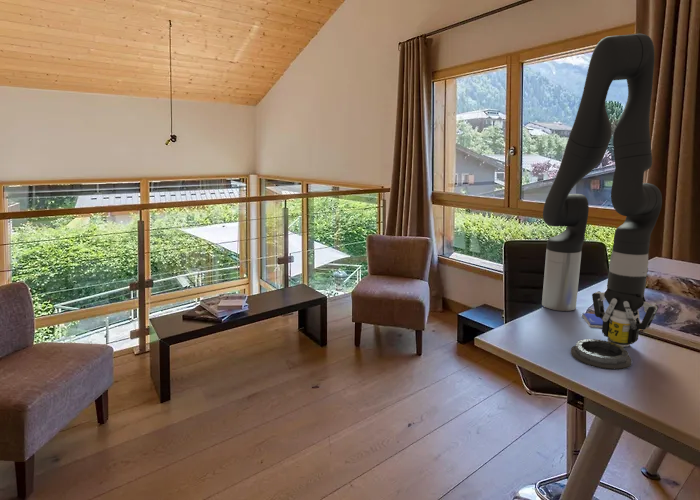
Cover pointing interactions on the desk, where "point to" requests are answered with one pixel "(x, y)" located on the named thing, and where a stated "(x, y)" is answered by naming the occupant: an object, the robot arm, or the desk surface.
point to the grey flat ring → (601, 354)
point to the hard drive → (592, 320)
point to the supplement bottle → (619, 328)
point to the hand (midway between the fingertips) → (619, 339)
